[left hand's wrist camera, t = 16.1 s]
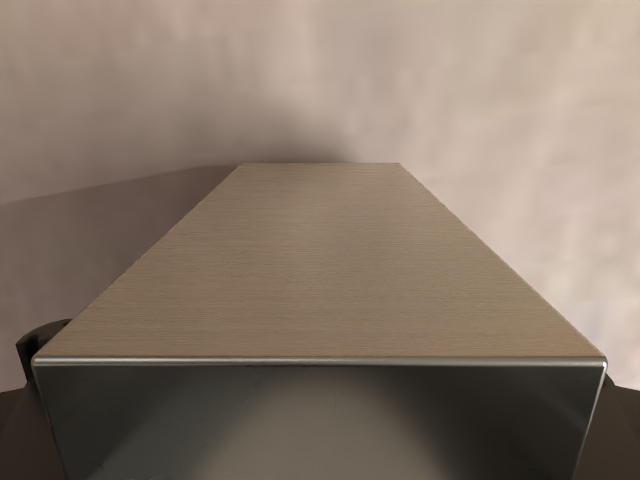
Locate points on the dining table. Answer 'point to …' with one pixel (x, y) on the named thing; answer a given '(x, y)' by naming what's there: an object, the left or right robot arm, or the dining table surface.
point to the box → (319, 345)
